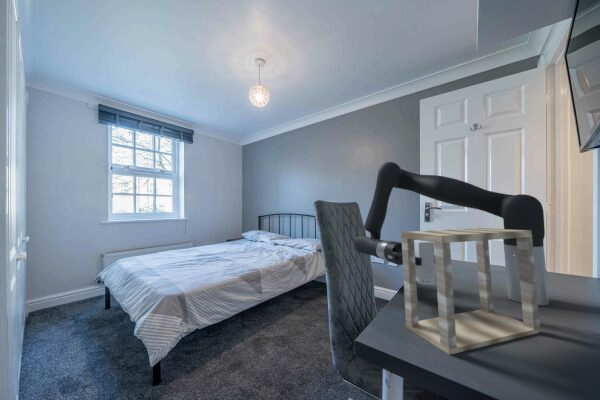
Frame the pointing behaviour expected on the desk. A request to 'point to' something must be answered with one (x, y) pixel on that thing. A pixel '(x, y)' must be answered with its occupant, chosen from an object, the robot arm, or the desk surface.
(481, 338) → the oak counter shelf
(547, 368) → the desk surface
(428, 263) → the skincare box
